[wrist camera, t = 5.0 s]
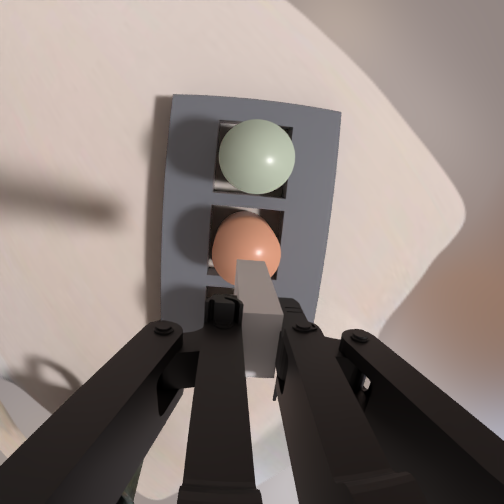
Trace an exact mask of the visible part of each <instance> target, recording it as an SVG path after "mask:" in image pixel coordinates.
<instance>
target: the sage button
mask: <svg viewBox="0 0 504 504" xmlns="http://www.w3.org/2000/svg"><path fill="white" fill-rule="evenodd" d="M294 163H295V150H294V146H293V143H292V141H291V139H290V137H289V136H288V134H287V133H286V132H285V131H284V130H283V129H282V128H281V127H279V126H278V125H276V124H274V123H272V122H270V121H267V120H261V119H252V120H247V121H244V122H241V123H239V124H237V125H236V126H234V127H233V128H232V129H231V130H229V132H228V133H227V134H226V135H225V137H224V138H223V140H222V143H221V145H220V149H219V164H220V168H221V170H222V173H223V175H224V176H225V178H226V179H227V180H228V182H229V183H230V184H232V185H233V186H234V187H235V188H237V189H239V190H241V191H243V192H246V193H250V194H264V193H268V192H271V191H273V190H275V189H277V188H279V187H280V186H281V185H283V184H284V183H285V182H286V180H287V179H288V178H289V176H290V175H291V173H292V170H293V167H294Z"/></svg>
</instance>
